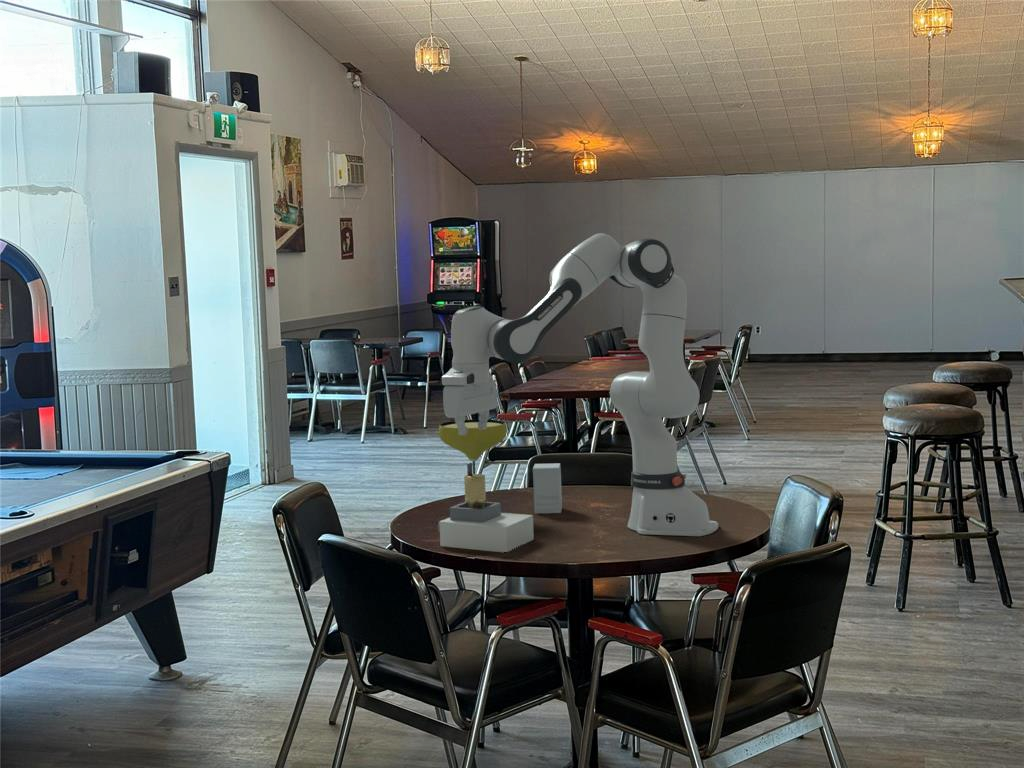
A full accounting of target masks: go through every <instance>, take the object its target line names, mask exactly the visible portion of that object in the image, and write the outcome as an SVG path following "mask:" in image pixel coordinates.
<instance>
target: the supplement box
mask: <svg viewBox="0 0 1024 768" xmlns="http://www.w3.org/2000/svg"><path fill="white" fill-rule="evenodd" d="M561 468H562V467H561V463H556V462H554V463H534V465H533V468H532V481H533V502H534V505H533V506H534V514H537V515H539V514H561V513H562V509H563V501H562V500H563V498H562V497H563V496H562V471H561V470H562V469H561Z"/></svg>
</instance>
